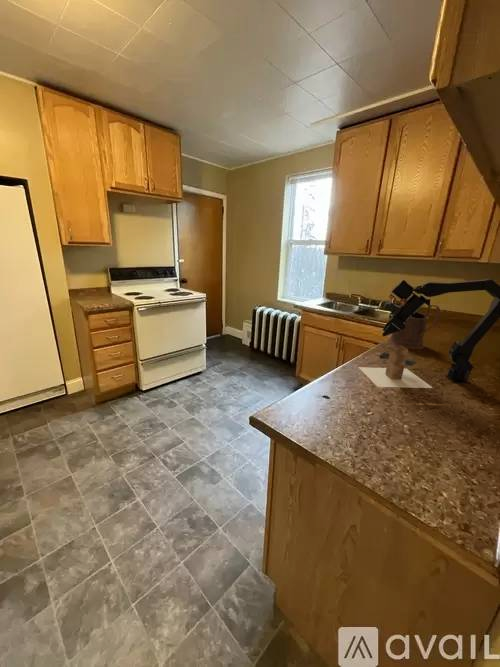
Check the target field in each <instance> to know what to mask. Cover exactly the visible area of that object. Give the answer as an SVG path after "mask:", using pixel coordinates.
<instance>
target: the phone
mask: <svg viewBox="0 0 500 667" xmlns="http://www.w3.org/2000/svg"><path fill="white" fill-rule="evenodd" d="M389 354H390V352H389V353H388V352H384V353H382V354H379V356H378V357H380V358H379V359H382V358H383V360H388V359H389ZM415 364H417V361H415V360H412V359H408V358H406V362H405V365H406V366H410V367H411V366H413V365H415Z"/></svg>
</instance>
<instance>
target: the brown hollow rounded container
mask: <svg viewBox="0 0 500 667" xmlns="http://www.w3.org/2000/svg"><path fill="white" fill-rule="evenodd" d="M432 307H433V308H434V307H435V308H436V312H435V317H434V319H433V323H432V325H431V326H429V327H427V324H428V320H429V312H430V310H431V308H432ZM440 311H441V308H440V306H439V305H437V304H430V306H428V305H427V307H426V310H425V313H422V312H419V311H416V312H415V313H414V315H413V316H411V317H410V318H409V319H408V320H407V322H406V323H405V328H404V329H403V330H401V331H398V332H395V333H392V334H391V336H390V338H388V340H387V342H388V343H390V344H391V345H397V346H403V347H405V348H407V349H412V350H421V349H424V348H425V345H424V337H425V333H426V332H428V331H430V330H431V329H432V328H434V327H435V326H436V325H437V323H438V320H439V316H440Z"/></svg>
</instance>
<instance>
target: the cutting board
mask: <svg viewBox="0 0 500 667" xmlns="http://www.w3.org/2000/svg"><path fill="white" fill-rule="evenodd" d="M386 368H387V367H365V366H364V367H363V366H361V367H360V366H358V369H359V370H360V371H361V372H362V373H363V374H365V376H366V377H367V378H368V379H369V380H370V381H372V383H373V384H374V385H375V386H376V387H377V388H407V389H409V388H411V389H412V388H414V389H415V388H416V389H421V388H422V389H424V388H425V389H434V387H432V386H431V385H430V384H428V382H426V381H424V380H423V379H422V378H420V377H419V376H418V375H416V374H415V373H413V372H412V371H410V370H409V369H408V368H405V367H404V371H403V375H402V379H390V378H389V377H388V376H386V375H385V373H386Z"/></svg>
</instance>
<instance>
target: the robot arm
mask: <svg viewBox="0 0 500 667" xmlns="http://www.w3.org/2000/svg"><path fill="white" fill-rule="evenodd" d="M474 291H475V292H477V291H485V292H487V294H489V295H490V296H492V297H493V299H492V301H491V302H490V305H489V307H488V310H487V311H486V313H485V314H484V315H483V316H482V317H481V318H480V320H479V321H478V322H477V323H476V325H475V326H474V327H473V328H472V329H471V331H469V333H468V334H467V335H466V336H465V337H464V338H463V339H462V340H461V341H459V342H458V341H457V340H455V341H454V342H453V344H452V345H451V346H450V347H448V348H449V351H448V355H449V358H450V359H451V361H452V364H451V366H450V367H449V370H448V373H447V374H445V377H446V378H448V379H450V381H453V382H454V383H457V384H460V383H461V384H471V380H469V377H470V374H471V371H472V370H473V369H474V367H475V366H474V365H473V364H472V361H470V358H471V357H472V355H473V352H474V349H475V347H476V346H477V345H478V343H480V342H481V340H483V337H485V336H486V334H487V333H489V331H490V330H491V329H492V328H493V327H494V325H495V324H496V323H497V322H498V321H499V320H500V285H499V283H497V282H496V281H495V280H493V279H490V278H483V279H477V280H476V279H475V280H465V281H464V280H463V281H454V282H441V281H431V280H429V281H426V282H423V284H421V285H417V286H412V285H411V284H409V283H408V282H407V281H406V280H405V279H402V280H401V281H400V282H399V283H398V284H396V285H395V286H394V287H393V288H392V289H391V291H390V293H392V294H393V295H394V296H396V297H397V298H398V299H399V300H400V301H403V300H404V303H401V304H400V305H397V304H396V303H393V302H390V301H385V303H384V306H383V308H382V309H383V311H388V312H389V314H388V318H389V320H388V321H387V322H386V324H385V325H384V327H383V328H382V331H383V332H382V334H381V336H382V337H386V336H389V335H392V333H395V332H398V331H401V330H403V329H404V328H405V323H406V322H407V320H408V319H409V318H410V317H411V316H413V315H414V313H415V312H418V310H420V308H422V307H423V306H424V305H426V306H427V307H428V306H430V305H431V298H433V297H437V296H443V295H445V294H448V293H449V294H450V293H461V292H462V293H463V292H464V293H465V292H474ZM418 294H419V295H418ZM426 297H427V298H426Z"/></svg>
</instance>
